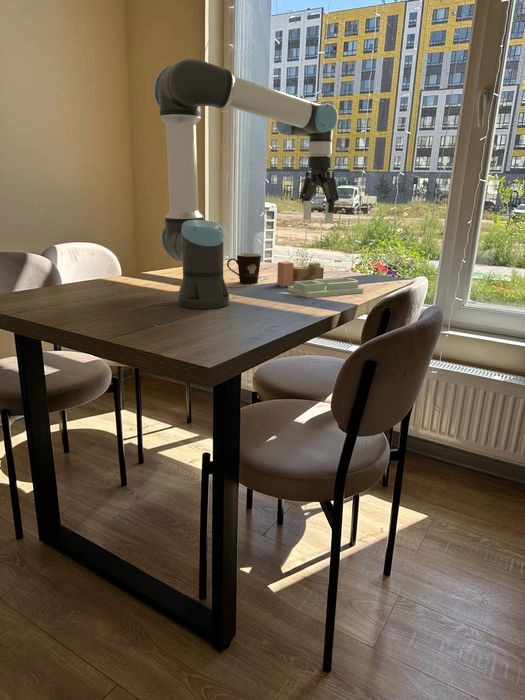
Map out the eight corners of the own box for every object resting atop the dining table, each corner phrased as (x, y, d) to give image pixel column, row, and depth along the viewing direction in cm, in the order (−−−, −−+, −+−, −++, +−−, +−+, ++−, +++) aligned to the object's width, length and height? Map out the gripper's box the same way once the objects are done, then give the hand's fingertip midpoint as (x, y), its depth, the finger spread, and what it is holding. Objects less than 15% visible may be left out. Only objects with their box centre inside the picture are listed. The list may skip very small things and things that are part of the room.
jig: (307, 297, 162) (308, 286, 161) (288, 290, 172) (288, 280, 171) (363, 292, 172) (364, 282, 171) (342, 286, 182) (343, 276, 181)
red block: (282, 286, 179) (283, 263, 177) (277, 284, 182) (277, 262, 180) (292, 286, 181) (293, 263, 178) (286, 284, 184) (287, 261, 182)
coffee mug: (261, 281, 189) (262, 253, 186) (259, 285, 180) (259, 256, 177) (230, 279, 190) (230, 252, 187) (226, 284, 181) (226, 255, 178)
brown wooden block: (296, 286, 181) (297, 264, 179) (290, 284, 185) (290, 263, 183) (322, 284, 186) (324, 263, 184) (316, 282, 190) (317, 261, 188)
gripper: (351, 155, 163) (347, 223, 170) (309, 157, 184) (307, 218, 191) (332, 154, 160) (329, 224, 166) (291, 157, 181) (290, 219, 187)
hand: (317, 221), depth 179 cm, fingers open, 13 cm apart
